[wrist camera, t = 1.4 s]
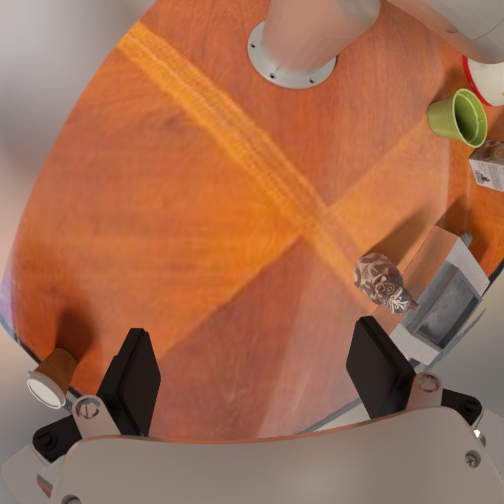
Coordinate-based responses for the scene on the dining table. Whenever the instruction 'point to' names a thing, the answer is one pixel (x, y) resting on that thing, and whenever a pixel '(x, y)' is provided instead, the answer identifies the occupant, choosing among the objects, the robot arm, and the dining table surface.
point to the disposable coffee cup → (53, 378)
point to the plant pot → (459, 118)
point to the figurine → (382, 283)
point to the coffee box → (489, 164)
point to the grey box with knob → (436, 296)
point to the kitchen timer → (486, 81)
